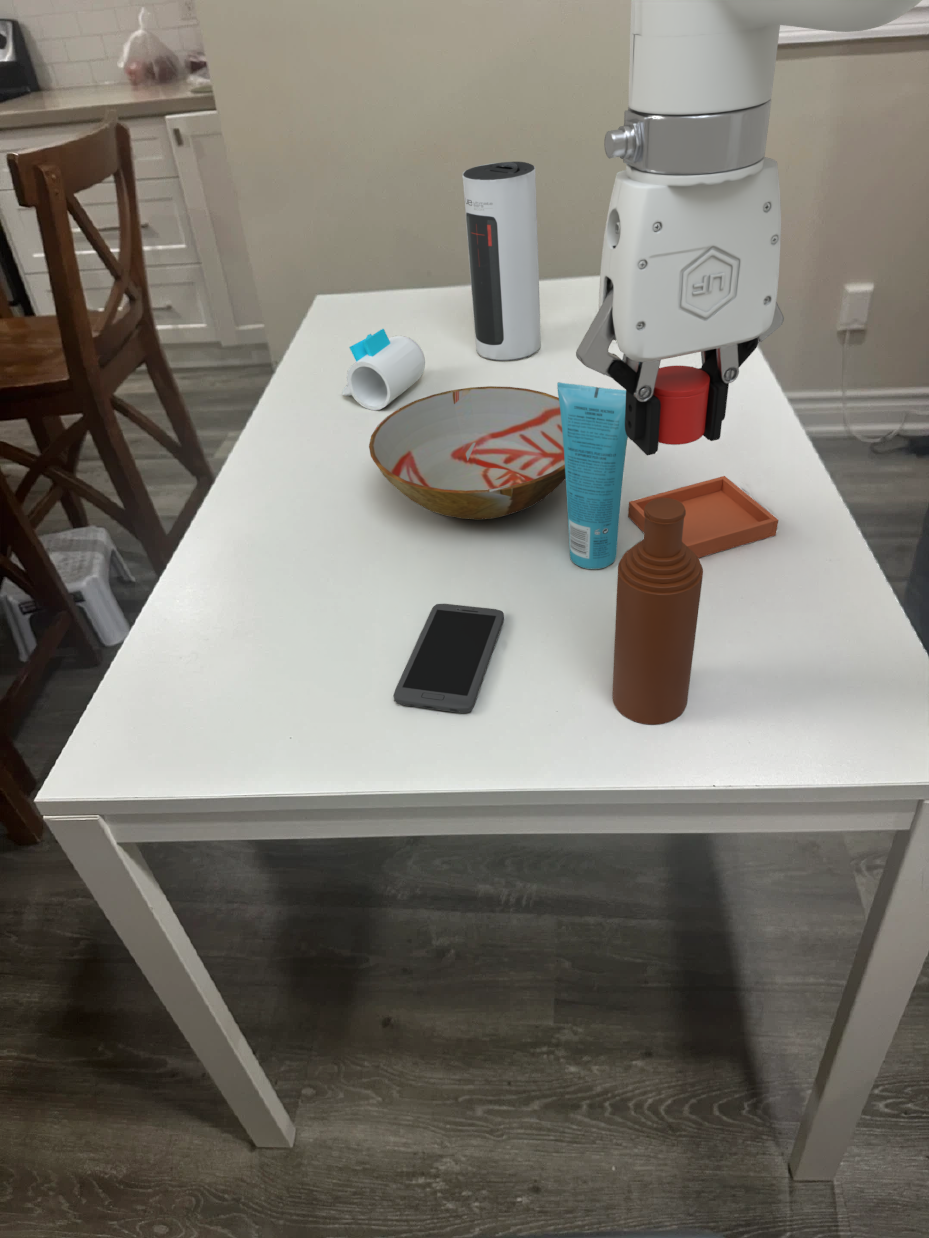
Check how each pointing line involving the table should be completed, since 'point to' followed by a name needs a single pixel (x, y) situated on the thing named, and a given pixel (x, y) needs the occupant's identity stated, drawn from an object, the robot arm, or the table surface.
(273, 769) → the table surface
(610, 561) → the tube
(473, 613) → the cell phone
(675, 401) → the cap
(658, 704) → the bottle
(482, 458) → the bowl
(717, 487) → the tray
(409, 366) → the mug
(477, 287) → the speaker
